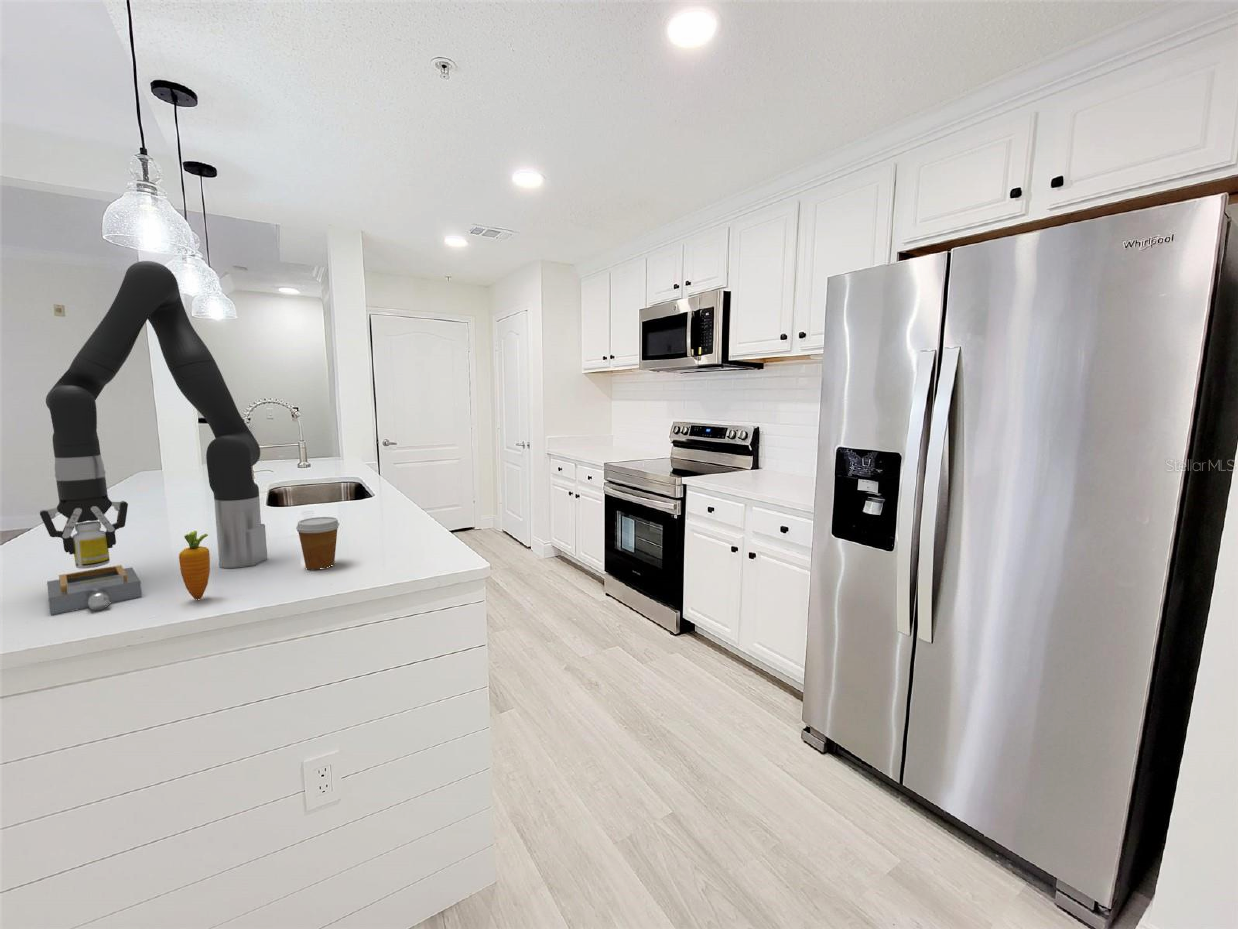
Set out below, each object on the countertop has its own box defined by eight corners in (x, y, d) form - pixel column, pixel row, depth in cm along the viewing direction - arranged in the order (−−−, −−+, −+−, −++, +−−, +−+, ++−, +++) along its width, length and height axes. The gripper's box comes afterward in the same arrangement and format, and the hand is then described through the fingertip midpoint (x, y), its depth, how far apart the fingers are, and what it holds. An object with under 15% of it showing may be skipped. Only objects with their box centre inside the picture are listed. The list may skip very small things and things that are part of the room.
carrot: (194, 595, 110) (188, 527, 108) (218, 595, 110) (213, 527, 108) (176, 605, 105) (170, 533, 103) (202, 604, 105) (196, 533, 103)
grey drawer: (133, 582, 117) (131, 561, 116) (144, 602, 106) (142, 578, 105) (48, 597, 107) (46, 574, 106) (51, 621, 96) (48, 596, 95)
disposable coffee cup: (295, 574, 124) (292, 526, 122) (301, 563, 132) (298, 518, 131) (339, 570, 128) (337, 523, 126) (342, 559, 136) (340, 515, 135)
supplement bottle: (116, 562, 118) (111, 520, 116) (91, 569, 112) (85, 526, 111) (95, 561, 118) (89, 520, 117) (68, 569, 113) (62, 526, 111)
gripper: (123, 471, 120) (132, 540, 123) (31, 478, 109) (42, 554, 112) (128, 474, 116) (137, 546, 118) (32, 482, 105) (44, 561, 107)
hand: (91, 550), depth 115 cm, fingers closed on supplement bottle, 5 cm apart
